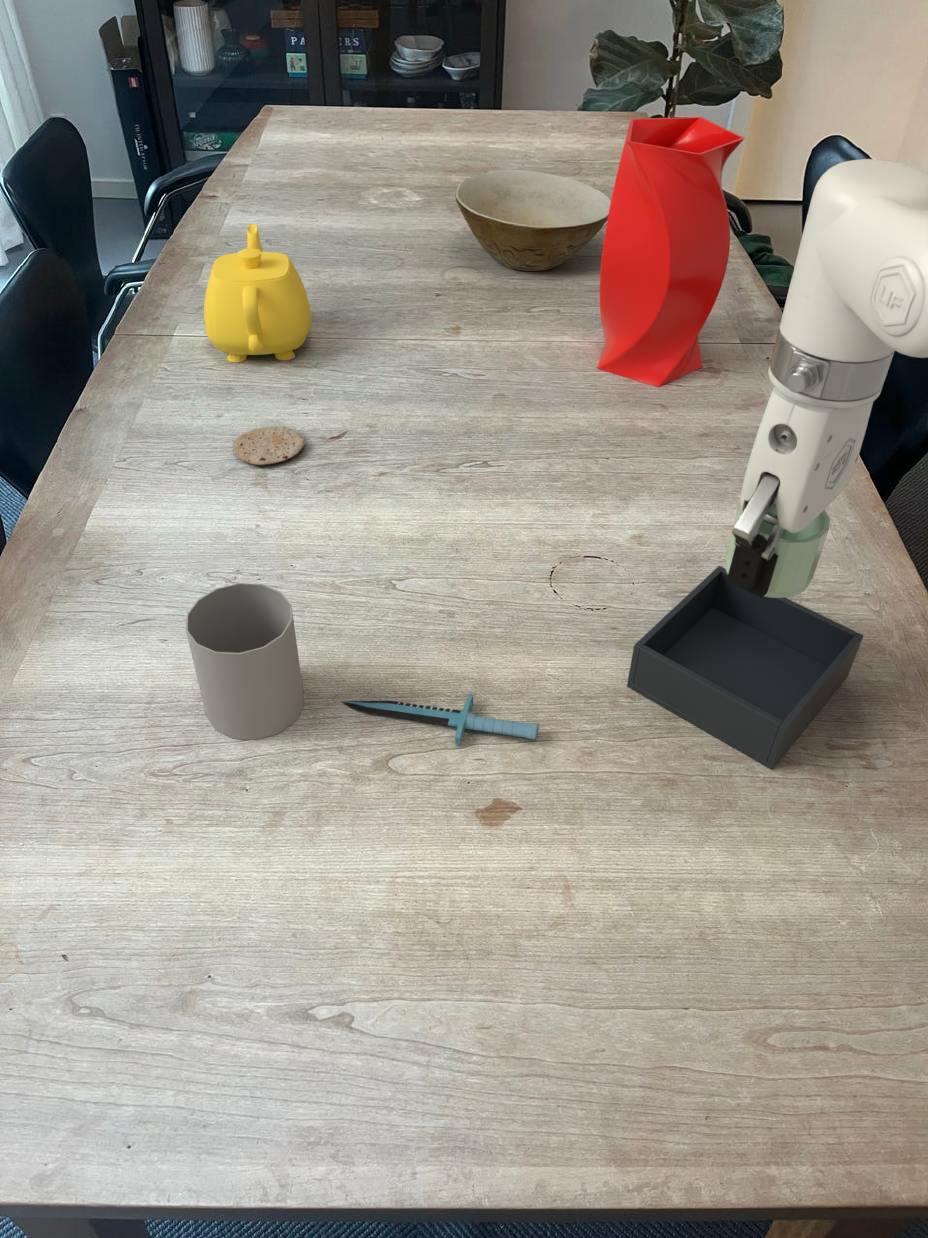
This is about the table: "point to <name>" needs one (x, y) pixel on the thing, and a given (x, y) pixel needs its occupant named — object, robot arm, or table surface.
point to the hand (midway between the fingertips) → (770, 563)
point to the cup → (246, 660)
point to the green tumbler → (790, 554)
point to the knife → (447, 717)
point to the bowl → (531, 216)
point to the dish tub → (743, 666)
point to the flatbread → (268, 445)
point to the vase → (664, 247)
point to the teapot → (256, 303)
